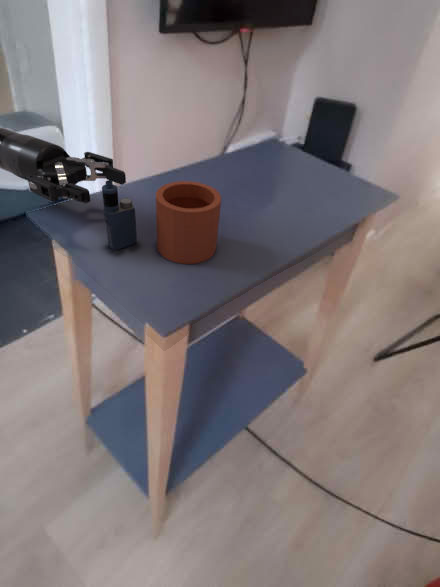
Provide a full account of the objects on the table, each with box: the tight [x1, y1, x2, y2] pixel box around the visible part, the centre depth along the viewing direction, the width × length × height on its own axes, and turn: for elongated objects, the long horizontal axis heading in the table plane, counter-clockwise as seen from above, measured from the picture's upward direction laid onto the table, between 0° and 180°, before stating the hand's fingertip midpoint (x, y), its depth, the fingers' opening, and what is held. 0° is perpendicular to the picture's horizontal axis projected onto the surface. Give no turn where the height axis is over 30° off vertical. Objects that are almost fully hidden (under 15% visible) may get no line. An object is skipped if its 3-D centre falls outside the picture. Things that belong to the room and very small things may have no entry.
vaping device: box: [101, 180, 138, 251], centre depth 65 cm, size 3×5×12 cm, turn 127°
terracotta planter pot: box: [155, 180, 222, 265], centre depth 67 cm, size 11×11×10 cm
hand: (107, 187), depth 64 cm, fingers open, 8 cm apart
